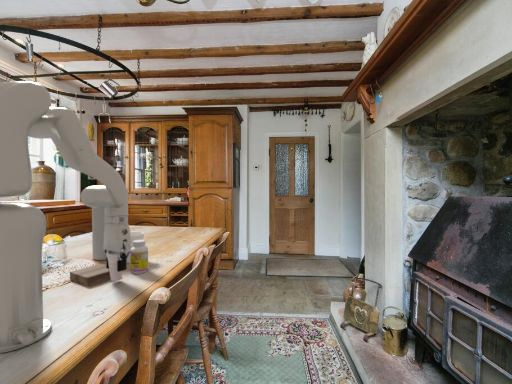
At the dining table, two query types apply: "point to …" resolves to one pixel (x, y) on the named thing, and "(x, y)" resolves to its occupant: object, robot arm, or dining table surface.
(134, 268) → the supplement bottle
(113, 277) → the smoothie
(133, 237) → the foam cup
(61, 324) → the dining table surface
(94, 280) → the plinth
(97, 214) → the cylinder vase
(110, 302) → the dining table surface
